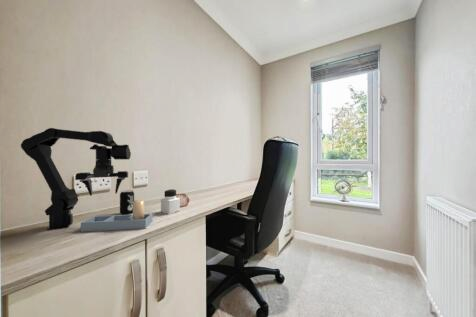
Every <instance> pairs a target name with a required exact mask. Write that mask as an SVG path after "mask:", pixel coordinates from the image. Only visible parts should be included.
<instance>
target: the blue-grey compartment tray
mask: <svg viewBox="0 0 476 317" xmlns="http://www.w3.org/2000/svg"><path fill="white" fill-rule="evenodd" d="M153 216H154V215H153V213H144V219H143V220H133V214H127V215H122V214H117V215H116V214H115V215H114V214H113V215H94V216H92V217H89V218H88V219H86V220H84V221H83V220H82V221H81V222H80V232H84V233H85V232H95V231H96V232H102V231H103V232H104V231H121V230H124V231H125V230H143V229H147V228H148V227H149V226H150V225H151V224H152V223H153V218H154V217H153Z"/></svg>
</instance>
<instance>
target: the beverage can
mask: <svg viewBox="0 0 476 317" xmlns="http://www.w3.org/2000/svg"><path fill="white" fill-rule="evenodd" d="M133 201H135V192H134V190H133V189H125V190H120V193H119V214H120V215H133Z"/></svg>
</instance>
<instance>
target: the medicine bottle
mask: <svg viewBox="0 0 476 317" xmlns="http://www.w3.org/2000/svg"><path fill="white" fill-rule="evenodd" d="M180 200H181V198H179V197H177V190H176V189H166V190H164V198H161V199H160V213H164V214H168V215H171V214H172V215H173V214H174V213H178V212H180V211H181V204H180V203H181V201H180Z"/></svg>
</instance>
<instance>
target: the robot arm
mask: <svg viewBox="0 0 476 317" xmlns="http://www.w3.org/2000/svg"><path fill="white" fill-rule="evenodd" d="M60 139H64V140H65V139H66V140H74V141H76V140H77V141H86V142H89V143H93V145H92V146H90V147H89V150H92V151H93V150H94V151H95V166H94V167H93V169H92V173H91V172H77V173H76V174H75V176H74V180H75V181H79V182H80V183H82V184H83V185H85V188H86V189H87V191H88V193H89V196H90V197H92V196H93V184H92V179H95V178H113V177H114V178H115V177H116V181H115V182H116V184H115V190H114V191H115V194H118V191H119V188H120V186H121V183H122V181H124V180H125V179H126V178H129V172H128V171H127V170H123V171H120V170H119V171H117V172H114V171H115V170H114V169H115V168H114V165H112V158H113V159H114V160H116V161H117V160H130V158H131V156H132V155H131V154H132V153H131V150H130V147H129V144H117V143H116V141H115V140H114V137H113V135H112V134H111V133H109V132H106V131H102V130H94V131H93V130H92V131H77V130H70V129H62V128H61V129H59V128H54V127H48V128H47V129H45V130H43V131H42V132H39V133H36V134H34V135H31V136H30V137H28V138H24V140H22V142H21V143H20V147H21V149H22V150H23V151H24V153H25V154H26V155H27V156H28V157H29V158H31V160H34V161H35V164H36V166H37V167H38V169H39V170H40V172H41V174H42V176H43V178H44V180H45V182H46V184H47V186H48V188H49V189H50V191H51V192H50V193H51V194H50V201H51V204H50V205H49V206H48V207H47V208H46V209H45V210H44V213H45V215H46V216H48V218H49V219H48V228H47V229H46V230H47V231H50V230H51V231H52V230H59V229H66V228H69V227H70V226H71V225H72V224H73V222H74V221H73V219H74V218H73V216H74V214H73V213H72V210H74V207H75V206H76V205H77V203H78V202H79V198H78V197H79V196H80V195H78V194H77V192H76V189H75V188H71V189H70V188H69V187H67V186H66V184H65V181H64V179H63V177H62V176H61V174H60V172H59V170H58V168H57V167H56V164H55V163H54V161H53V159H52V147H53V146H54V145H56V143H57V142H58V141H59V140H60Z"/></svg>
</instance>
